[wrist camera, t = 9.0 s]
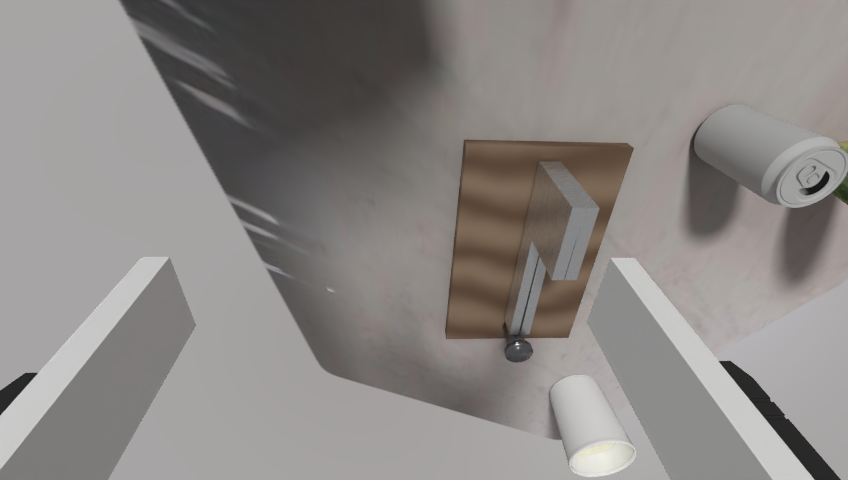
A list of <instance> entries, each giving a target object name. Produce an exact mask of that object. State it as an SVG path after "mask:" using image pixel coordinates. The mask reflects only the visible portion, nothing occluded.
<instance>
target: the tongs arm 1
mask: <svg viewBox="0 0 848 480" xmlns="http://www.w3.org/2000/svg"><path fill="white" fill-rule="evenodd" d="M585 210H586V207H585V206H584V205H583V203H582V202H581V201H580V199H579V198H578V197H577V196H576V194H575V193H574V192H573V191H572V189H571V188H570V187H569V185H568V184H567V183H566V182H565V180H564V179H563V178H562V176H561V175H560V174H559V173H558V171H557V170H556V169H555V167H554V166H553V165H552V164H551V162H547V161H539V163H538V168H537V172H536V177H535V181H534V186H533V190H532V195H531V199H530V204H529V208H528V213H527V217H526V222H525V228H524V232H523V237H522V241H521V246H520V250H519V255H518V259H517V264H516V268H515V273H514V277H513V282H512V286H511V291H510V295H509V300H508V304H507V309H506V313H505V318H504V319H505V322H506V326H507V329H508V332H509V335H518V334H519V330H520V326H521V322H522V318H523V314H524V310H525V306H526V303H527V299H528V295H529V291H530V287H531V283H532V279H533V275H534V272H535V268H536V264H537V260H538V256H540V258H541V260H542V262H543V264H544V266H545V268H546V270H547V272H548V274H549V276H550V278H551V280H564V277H565V274H566V271H567V268H568V264H569V261H570V258H571V255H572V252H573V249H574V245H575V242H576V239H577V236H578V233H579V229H580V226H581V223H582V220H583V216H584V213H585Z"/></svg>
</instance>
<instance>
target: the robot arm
mask: <svg viewBox="0 0 848 480" xmlns="http://www.w3.org/2000/svg"><path fill="white" fill-rule="evenodd" d="M587 323H588V325H589V327H590V329H591V331H592V332H593V334H594V336H595V338H596V340H597V342H598V344H599V346H600V348H601V349H602V351H603V353H604V355H605V357H606V359H607V361H608V363H609V364H610V366H611V368H612V370H613V372H614V374H615V376H616V378H617V380H618V381H619V383H620V385H621V387H622V389H623V391H624V393H625V395H626V396H627V398H628V400H629V402H630V404H631V406H632V408H633V410H634V411H635V413H636V415H637V417H638V419H639V421H640V423H641V425H642V427H643V428H644V430H645V432H646V434H647V436H648V438H649V440H650V442H651V443H652V445H653V447H654V449H655V451H656V453H657V455H658V456H659V459H660V460H661V462H662V464H663V466H664V468H665V470H666V472H667V474H668V476H669V477H670V479H671V480H840V478H839V477H838V476H837V475H836V474H835V473H834V471H833V470H832V469H831V468H830V467H829V466H828V464H827V463H826V462H825V461H824V460H823V459H822V457H821V456H820V455H819V454H818V453H817V452H816V451H815V449H814V448H813V447H812V446H811V445H810V444H809V442H808V441H807V440H806V439H805V438H804V437H803V436H802V434H801V433H800V432H799V431H798V430H797V428H796V427H795V426H794V425H793V424H792V423H791V422H790V420H789V419H786V418H785V417H784V413H782V411H781V410H780V409H779V408H778V407H777V406H776V404H775V403H774V402H771V401H770V397H769V396H768V395H767V394H766V393H765V391H764V390H763V389H762V388H761V387H760V386H759V384H757V382H756V381H755V380H754V379H753V378H752V377H751V376H750V375H748V374H747V373H745V372H744V371H743V370H742V369H740V368H739V367H738V366H736V365H735V364H733V363H732V362H731V361H718V360H717V359H716V358H715V357H714V355H713V354H712V353H711V352H710V350H709V349H708V348H707V347H706V345H705V344H704V343H703V342H702V341H701V339H700V338H699V337H698V336H697V334H696V333H695V332H694V331H693V329H692V328H691V327H690V326H689V325H688V323H687V322H686V321H685V320H684V318H683V317H682V316H681V315H680V313H679V312H678V311H677V310H676V309H675V307H674V306H673V305H672V304H671V302H670V301H669V300H668V299H667V297H666V296H665V295H664V294H663V293H662V291H661V290H660V289H659V288H658V286H657V285H656V284H655V283H654V281H653V280H652V279H651V278H650V277H649V275H648V274H647V273H646V272H645V270H644V269H643V268H642V267H641V265H640V264H639V263H638V262H637V261H636V259H635V258H610V261H609V264H608V266H607V269H606V272H605V274H604V277H603V280H602V282H601V285H600V288H599V291H598V293H597V296H596V299H595V301H594V304H593V307H592V309H591V312H590V315H589V318H588V320H587ZM195 326H196V324H195V322H194V319H193V316H192V314H191V311H190V309H189V306H188V304H187V301H186V298H185V296H184V293H183V291H182V288H181V286H180V283H179V280H178V278H177V275H176V272H175V270H174V267H173V265H172V263H171V260H170V257H141V259H140V260H139V261H138V262H137V263H136V264H135V265H134V266H133V268H132V269H131V270H130V271H129V272H128V273H127V274H126V275H125V276H124V278H123V279H122V280H121V281H120V282H119V283H118V284H117V285H116V287H115V288H114V289H113V290H112V291H111V292H110V293H109V295H108V296H107V297H106V298H105V299H104V300H103V301H102V302H101V303H100V305H99V306H98V307H97V308H96V309H95V310H94V311H93V312H92V314H91V315H90V316H89V317H88V318H87V319H86V320H85V321H84V322H83V324H82V325H81V326H80V327H79V328H78V329H77V330H76V332H74V334H73V335H72V336H71V337H70V338H69V339H68V340H67V341H66V343H65V344H64V345H63V346H62V347H61V348H60V349H59V350H58V352H57V353H56V354H55V355H54V356H53V357H52V358H51V359H50V361H49V362H48V363H47V364H46V365H45V366H44V367H43V368H42V369H41V371H40V372H39V373H25V374H23V375H22V376H20V377H19V378H18V379H16V380H15V381H13V382H12V383H11V384H9V385H8V386H6V387H5V388H3V389H2V390H1V391H0V480H108V479H109V477H110V475H111V473H112V471H113V470H114V468H115V466H116V465H117V463H118V461H119V459H120V458H121V456H122V454H123V452H124V451H125V449H126V447H127V445H128V443H129V442H130V440H131V438H132V437H133V435H134V433H135V431H136V429H137V428H138V426H139V424H140V422H141V421H142V419H143V417H144V415H145V414H146V412H147V410H148V408H149V407H150V405H151V403H152V401H153V400H154V398H155V396H156V394H157V392H158V390H159V389H160V387H161V386H162V384H163V382H164V380H165V379H166V377H167V375H168V373H169V372H170V370H171V368H172V366H173V365H174V363H175V361H176V359H177V358H178V356H179V354H180V352H181V351H182V349H183V347H184V345H185V343H186V342H187V340H188V338H189V337H190V335H191V333H192V331H193V330H194V328H195Z"/></svg>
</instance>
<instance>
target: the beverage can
mask: <svg viewBox="0 0 848 480" xmlns="http://www.w3.org/2000/svg"><path fill="white" fill-rule="evenodd" d="M694 149H695V152H696V154H697V156H698V157H699V158H700V159H702V160H703V161H705V162H706V163H708V164H710V165H711V166H713V167H714V168H716V169H718V170H719V171H721V172H722V173H724V174H725V175H727V176H729V177H730V178H732V179H733V180H735V181H737V182H738V183H740V184H741V185H743V186H745V187H746V188H748V189H749V190H751V191H752V192H754V193H756V194H757V195H759V196H760V197H762V198H764V199H765V200H767V201H768V202H770V203H773V204H777V205H784V206H786V207H790V208H799V207H804V206H808V205H811V204H813V203H816V202H818V201H820V200H821V199H823V198H824V197H826V196H827V195H829V194H830V193H831V192H832V191H834V190H835V189H836V188H837V187H838V186H839V184H840V183H841V182H842V181H843V179H844V178H845V176H846V174H847V172H848V154H847V153H846V151H844V150H843V149H841V148H840V146H839V145H838V144H837V142H835V141H834V140H832V139H830V138H828V137H825V136H822V135H820V134H817V133H815V132H812V131H810V130H807V129H805V128H802V127H800V126H797V125H794V124H792V123H789V122H787V121H784V120H782V119H779V118H777V117H774V116H771V115H769V114H766V113H764V112H761V111H759V110H756V109H754V108H751V107H749V106H746V105H741V104H735V105H730V106H726V107H724V108H721V109H719V110H717V111H716V112H714V113H713V114H712V115H710V116H709V117H708V118H707V119H706V120H705V121H704V122H703V124H702V125H701V126H700V128H699V130H698V131H697V134H696V136H695V140H694Z"/></svg>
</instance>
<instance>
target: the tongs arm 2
mask: <svg viewBox="0 0 848 480" xmlns="http://www.w3.org/2000/svg"><path fill="white" fill-rule="evenodd" d="M551 164H552V165H553V166H554V167H555V169H556V170H557V171H558V173H559V174H560V175H561V176H562V178H563V179H564V180H565V182H566V183H567V184H568V185H569V187H570V188H571V189H572V191H573V192H574V193H575V194H576V196H577V197H578V198H579V199H580V201H581V202H582V203H583V205H584V206H585V207H586V210H585V213H584V216H583V220H582V223H581V226H580V229H579V233H578V236H577V239H576V242H575V245H574V249H573V252H572V255H571V258H570V261H569V264H568V268H567V271H566V274H565V277H564V280H577V277H578V274H579V271H580V268H581V265H582V262H583V258H584V255H585V252H586V249H587V246H588V243H589V240H590V237H591V233H592V230H593V227H594V224H595V221H596V218H597V215H598V212H599V207H598V206H597V204H596V203H595V202H594V201H593V200H592V198H591V197H590V196H589V195H588V194H587V192H586V191H585V190H584V189H583V188H582V186H581V185H580V184H579V183H578V182H577V180H576V179H575V178H574V177H573V176H572V174H571V173H570V172H569V171H568V170H567V168H566V167H565V166H564V165H563V164H562V162H551ZM545 272H546V268H545V266H544V264H543V262H542V260H541V258H540V256H538V260H537V264H536V268H535V272H534V275H533V279H532V283H531V287H530V291H529V295H528V299H527V303H526V306H525V310H524V314H523V318H522V322H521V326H520V330H519V332H520V335H529V334H530V330H531V326H532V322H533V318H534V314H535V311H536V307H537V303H538V299H539V295H540V291H541V288H542V284H543V280H544V276H545Z"/></svg>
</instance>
